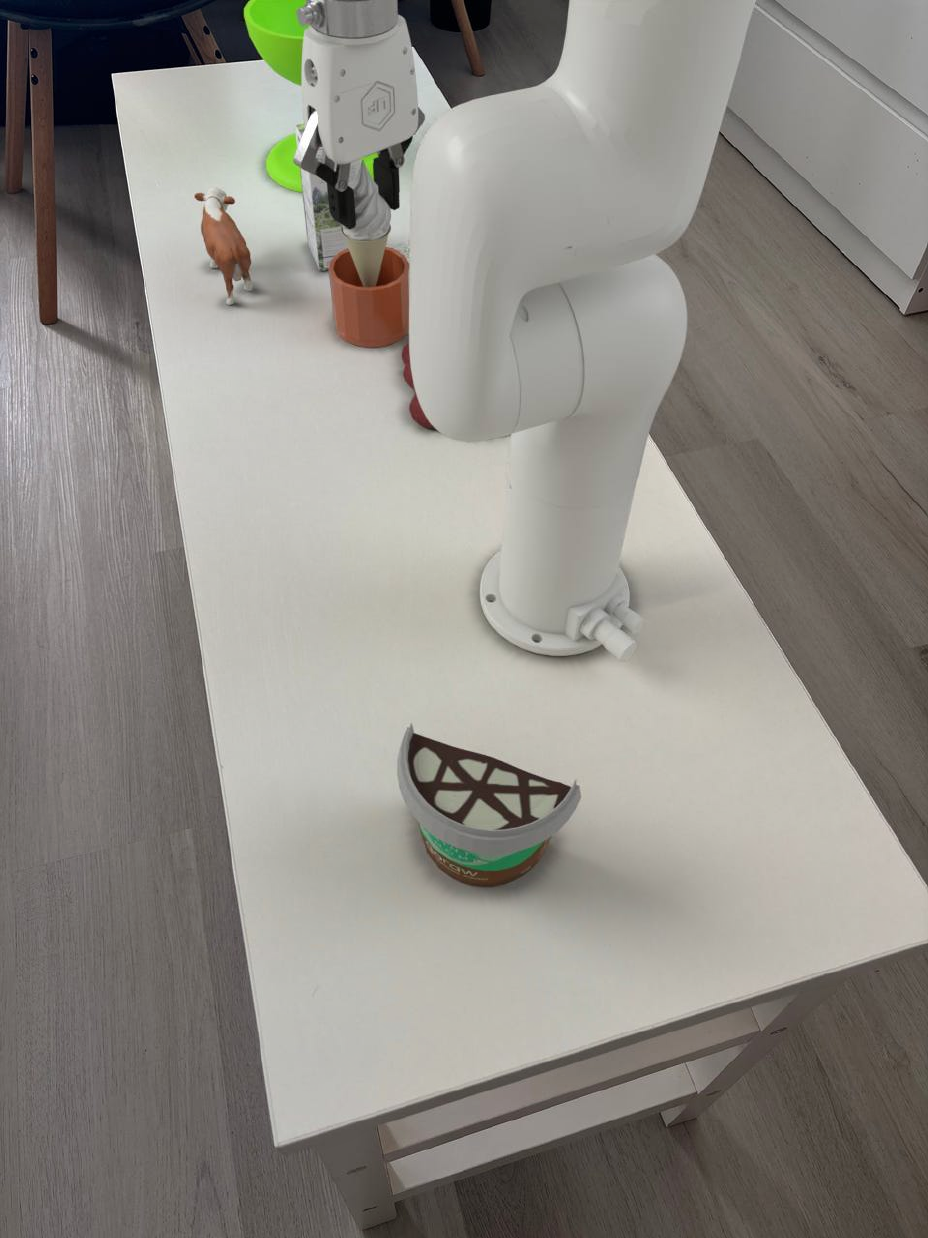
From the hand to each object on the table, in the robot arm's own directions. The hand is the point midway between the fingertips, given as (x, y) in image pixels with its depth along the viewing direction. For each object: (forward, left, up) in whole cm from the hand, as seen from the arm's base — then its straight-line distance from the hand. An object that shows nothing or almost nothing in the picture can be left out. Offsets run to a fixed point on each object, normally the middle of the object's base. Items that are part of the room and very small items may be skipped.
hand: (365, 211), depth 96 cm
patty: (-14, -2, -13) cm, 19 cm away
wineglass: (+31, -17, -13) cm, 38 cm away
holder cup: (0, 0, -13) cm, 13 cm away
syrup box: (+13, -5, -13) cm, 19 cm away
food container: (-53, +33, -13) cm, 64 cm away
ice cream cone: (0, 0, -10) cm, 10 cm away
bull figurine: (+17, +7, -13) cm, 23 cm away
